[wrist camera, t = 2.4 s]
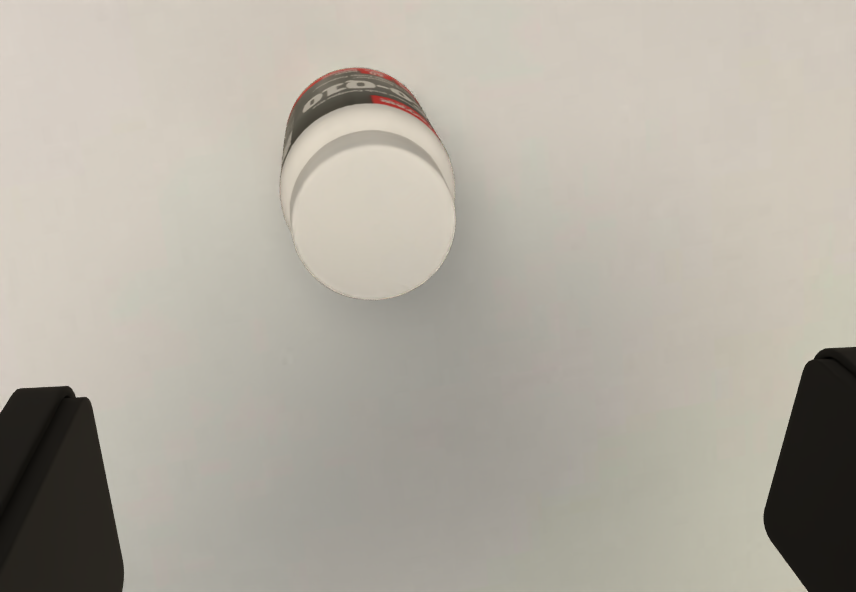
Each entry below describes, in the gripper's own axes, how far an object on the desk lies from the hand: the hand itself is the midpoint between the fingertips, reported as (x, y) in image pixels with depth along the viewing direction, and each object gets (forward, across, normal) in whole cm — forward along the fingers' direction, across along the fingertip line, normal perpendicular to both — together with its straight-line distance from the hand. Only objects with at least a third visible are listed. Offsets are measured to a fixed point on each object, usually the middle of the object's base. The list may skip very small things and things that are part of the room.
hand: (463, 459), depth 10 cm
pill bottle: (+18, 0, 0) cm, 18 cm away
